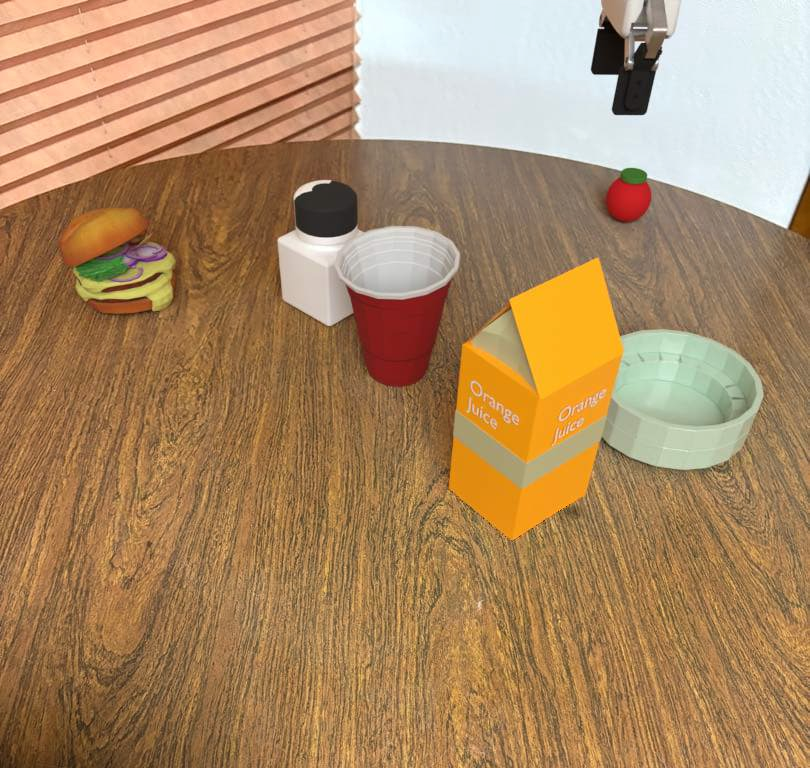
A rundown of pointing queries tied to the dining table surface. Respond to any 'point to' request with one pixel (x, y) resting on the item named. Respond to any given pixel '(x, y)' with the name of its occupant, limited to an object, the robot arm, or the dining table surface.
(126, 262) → the cheeseburger
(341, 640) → the dining table surface
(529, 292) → the orange juice
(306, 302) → the medicine bottle
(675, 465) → the bowl
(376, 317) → the plastic cup
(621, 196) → the red tomato
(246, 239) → the dining table surface
